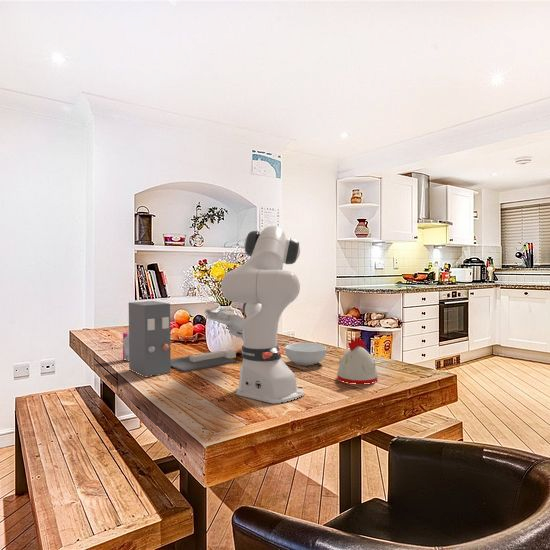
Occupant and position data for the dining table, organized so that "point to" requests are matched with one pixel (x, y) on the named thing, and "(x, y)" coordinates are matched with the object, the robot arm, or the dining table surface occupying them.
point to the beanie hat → (357, 364)
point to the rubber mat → (198, 363)
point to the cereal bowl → (306, 353)
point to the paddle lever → (213, 355)
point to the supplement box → (126, 346)
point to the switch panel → (149, 337)
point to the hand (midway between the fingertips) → (212, 311)
